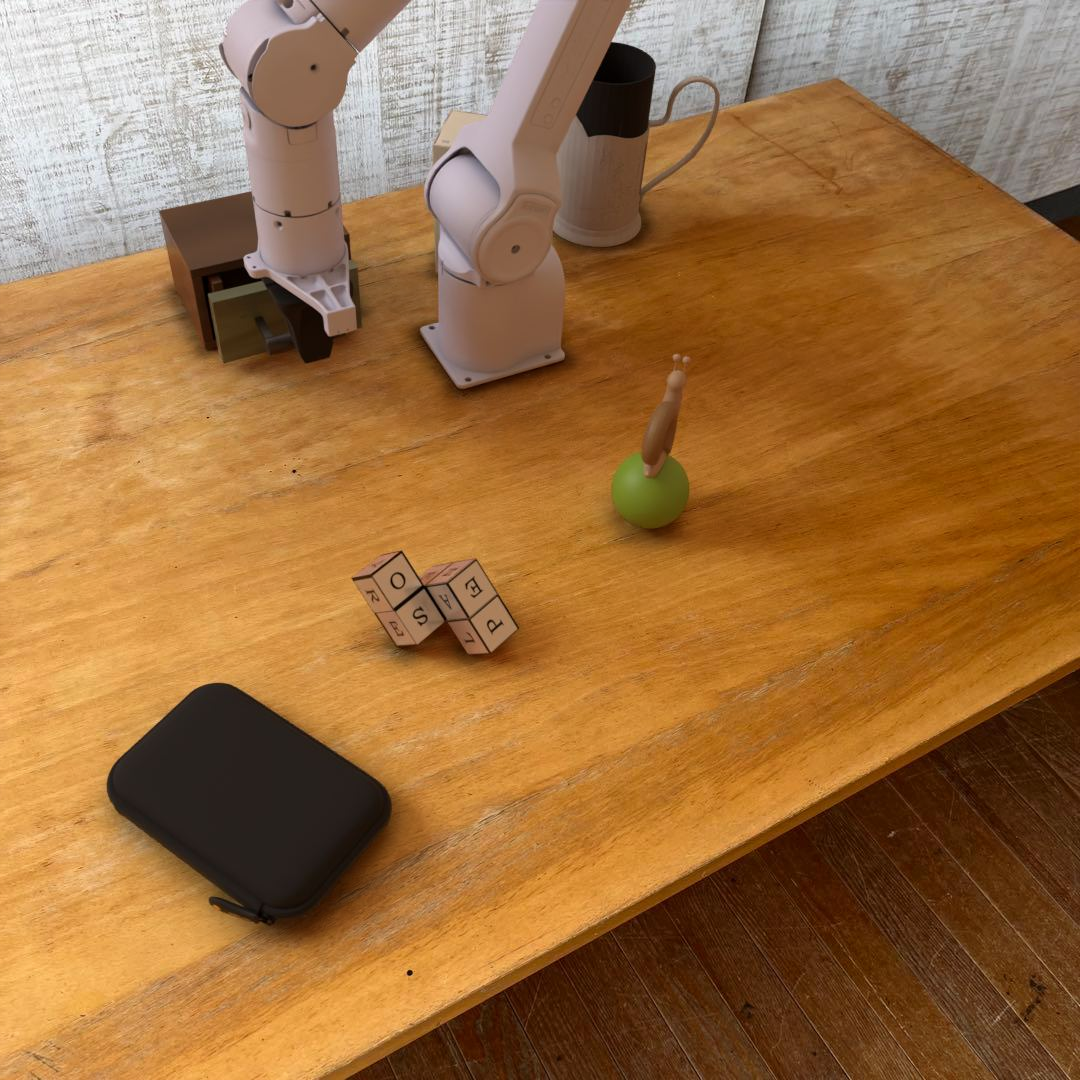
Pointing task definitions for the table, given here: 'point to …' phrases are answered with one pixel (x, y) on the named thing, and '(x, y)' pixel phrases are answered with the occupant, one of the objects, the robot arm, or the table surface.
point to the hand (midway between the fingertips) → (314, 355)
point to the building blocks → (436, 602)
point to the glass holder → (613, 150)
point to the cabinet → (209, 249)
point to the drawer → (253, 314)
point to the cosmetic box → (443, 144)
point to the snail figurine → (655, 466)
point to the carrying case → (249, 803)
